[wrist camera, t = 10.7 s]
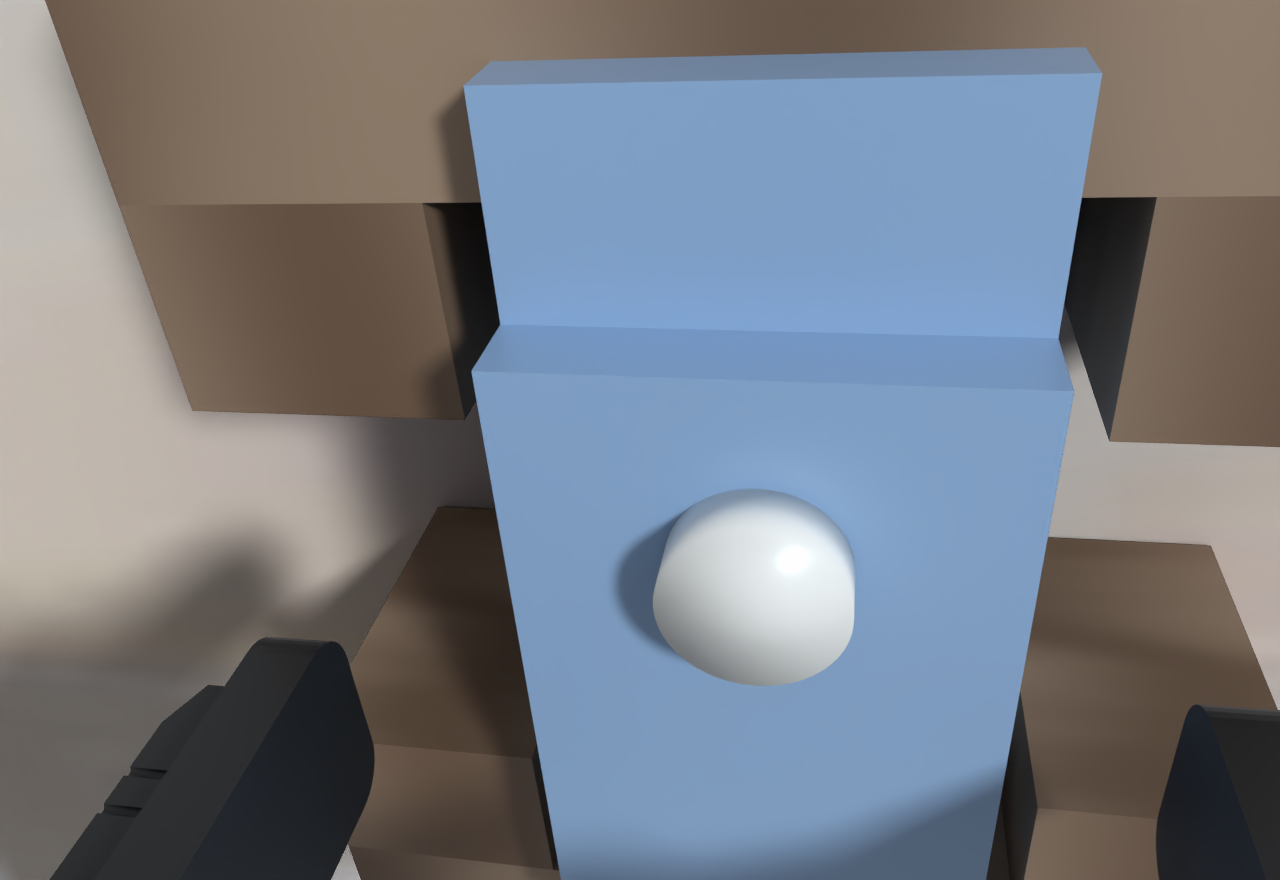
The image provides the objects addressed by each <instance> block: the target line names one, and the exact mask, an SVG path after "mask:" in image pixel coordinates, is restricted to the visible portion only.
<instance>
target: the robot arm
mask: <svg viewBox="0 0 1280 880" xmlns="http://www.w3.org/2000/svg"><path fill="white" fill-rule="evenodd" d="M374 765H375V753H374V745H373V741H372V737H371V734H370V731H369V727H368V724H367V721H366V718H365V714H364V711H363V708H362V705H361V701H360V698H359V695H358V692H357V689H356V685H355V682H354V679H353V676H352V672H351V669H350V666H349V663H348V659H347V656H346V654H345V651H344V650H343V648H342V647H341V646H340V645H339V644H338V643H336V642H330V641H316V640H302V639H287V638H273V637H266V638H262V639H260V640H259V641H257V642H256V643H255V644H254V645H253V646H252V647H251V648H250V650H249V651H248V652H247V654H246V655H245V657H244V658H243V660H242V661H241V663H240V664H239V666H238V667H237V669H236V670H235V672H234V673H233V675H232V676H231V678H230V679H229V681H228V682H227V684H226V685H225V686H213V685H208V686H206V687H205V688H204V689H203V690H201V691H200V692H199V693H198V694H197V695H195V696H194V697H193V698H192V699H190V700H189V701H188V702H187V703H185V704H184V705H183V706H182V707H180V708H179V709H178V710H177V711H175V712H174V713H173V714H172V715H171V716H169V717H168V718H167V719H166V720H164V721H163V722H162V723H161V725H160V726H159V727H158V729H157V730H156V732H155V733H154V734H153V736H152V737H151V739H150V740H149V741H148V743H147V744H146V746H145V747H144V748H143V750H142V751H141V753H140V754H139V755H138V757H137V758H136V760H135V761H134V762H133V764H132V765H131V772H130V774H129V776H123V778H122V779H121V781H120V782H119V783H118V785H117V786H116V788H115V789H114V790H113V792H112V793H111V795H110V796H109V797H108V799H107V800H106V802H105V803H104V811H103V812H102V814H99V813H97V814H96V816H95V817H94V818H93V820H92V821H91V823H90V824H89V825H88V827H87V828H86V830H85V831H84V832H83V834H82V835H81V837H80V838H79V839H78V841H77V842H76V844H75V845H74V846H73V848H72V849H71V851H70V852H69V853H68V855H67V856H66V858H65V859H64V860H63V862H62V863H61V865H60V866H59V867H58V869H57V870H56V872H55V873H54V874H53V876H52V877H51V879H50V880H331V878H332V876H333V874H334V872H335V870H336V867H337V865H338V863H339V861H340V859H341V857H342V855H343V853H344V850H345V848H346V846H347V844H348V842H349V840H350V838H351V835H352V833H353V831H354V829H355V827H356V825H357V823H358V820H359V818H360V816H361V814H362V812H363V810H364V808H365V805H366V803H367V800H368V797H369V794H370V790H371V786H372V782H373V776H374ZM1156 858H1157V868H1158V876H1159V880H1280V710H1269V709H1254V708H1240V707H1226V706H1211V705H1197V704H1195V705H1193V706H1192V707H1191V708H1190V709H1189V711H1188V713H1187V715H1186V717H1185V720H1184V724H1183V728H1182V731H1181V735H1180V738H1179V742H1178V745H1177V749H1176V753H1175V756H1174V760H1173V763H1172V767H1171V771H1170V774H1169V778H1168V781H1167V785H1166V788H1165V792H1164V796H1163V799H1162V803H1161V806H1160V810H1159V814H1158V819H1157V828H1156Z"/></svg>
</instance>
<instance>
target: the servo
mask: <svg viewBox="0 0 1280 880" xmlns="http://www.w3.org/2000/svg"><path fill="white" fill-rule="evenodd" d="M1101 79H1102V72H1101V70H1100V69H1099V67H1098V66H1097V64H1096V63H1095V61H1094V59H1093V58H1092V56H1091V55H1090V53H1089V52H1088V50H1087V49H1086V47H1074V48H1033V49H991V50H949V51H907V52H865V53H823V54H781V55H739V56H697V57H655V58H613V59H571V60H529V61H491V62H490V63H489V64H487V65H486V66H485V67H484V68H483V69H482V70H481V71H479V72H478V73H477V74H476V75H475V76H474V77H473V78H472V79H470V80H469V81H468V82H467V83H466V84H465V85H464V86H463V87H464V93H465V99H466V106H467V112H468V119H469V125H470V132H471V138H472V145H473V151H474V157H475V164H476V170H477V177H478V183H479V190H480V196H481V203H482V209H483V215H484V222H485V228H486V235H487V241H488V248H489V254H490V261H491V267H492V274H493V280H494V286H495V293H496V299H497V306H498V312H499V319H500V326H499V328H498V329H497V331H496V333H495V334H494V336H493V337H492V339H491V341H490V342H489V344H488V345H487V347H486V349H485V350H484V352H483V353H482V355H481V357H480V358H479V360H478V361H477V363H476V365H475V366H474V368H473V369H472V371H471V372H472V378H473V383H474V389H475V395H476V400H477V406H478V412H479V417H480V423H481V429H482V434H483V440H484V446H485V451H486V457H487V463H488V468H489V474H490V480H491V485H492V491H493V497H494V502H495V508H496V514H497V519H498V525H499V531H500V536H501V542H502V548H503V553H504V559H505V565H506V571H507V576H508V582H509V588H510V593H511V599H512V605H513V610H514V616H515V622H516V627H517V633H518V639H519V644H520V650H521V656H522V661H523V667H524V673H525V678H526V684H527V690H528V695H529V701H530V707H531V712H532V718H533V724H534V729H535V735H536V741H537V746H538V752H539V758H540V763H541V769H542V775H543V780H544V786H545V792H546V797H547V803H548V809H549V814H550V820H551V826H552V831H553V837H554V843H555V848H556V854H557V860H558V865H559V871H560V877H561V880H986V877H987V871H988V866H989V860H990V854H991V849H992V843H993V838H994V832H995V827H996V821H997V816H998V810H999V805H1000V799H1001V794H1002V788H1003V782H1004V777H1005V771H1006V766H1007V760H1008V755H1009V749H1010V744H1011V738H1012V733H1013V727H1014V722H1015V716H1016V711H1017V705H1018V699H1019V694H1020V688H1021V683H1022V677H1023V672H1024V666H1025V661H1026V655H1027V650H1028V644H1029V639H1030V633H1031V627H1032V622H1033V616H1034V611H1035V605H1036V600H1037V594H1038V589H1039V583H1040V578H1041V572H1042V567H1043V561H1044V555H1045V550H1046V544H1047V539H1048V533H1049V528H1050V522H1051V517H1052V511H1053V506H1054V500H1055V495H1056V489H1057V484H1058V478H1059V472H1060V467H1061V461H1062V456H1063V450H1064V445H1065V439H1066V434H1067V428H1068V423H1069V417H1070V412H1071V406H1072V400H1073V395H1074V389H1073V386H1072V382H1071V379H1070V376H1069V372H1068V369H1067V366H1066V362H1065V359H1064V355H1063V352H1062V349H1061V345H1060V342H1059V339H1058V338H1059V332H1060V326H1061V320H1062V314H1063V307H1064V301H1065V295H1066V289H1067V283H1068V277H1069V271H1070V265H1071V259H1072V253H1073V247H1074V241H1075V235H1076V229H1077V223H1078V217H1079V211H1080V205H1081V199H1082V193H1083V187H1084V181H1085V175H1086V169H1087V163H1088V157H1089V151H1090V145H1091V139H1092V133H1093V127H1094V121H1095V115H1096V109H1097V103H1098V97H1099V91H1100V85H1101Z"/></svg>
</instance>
